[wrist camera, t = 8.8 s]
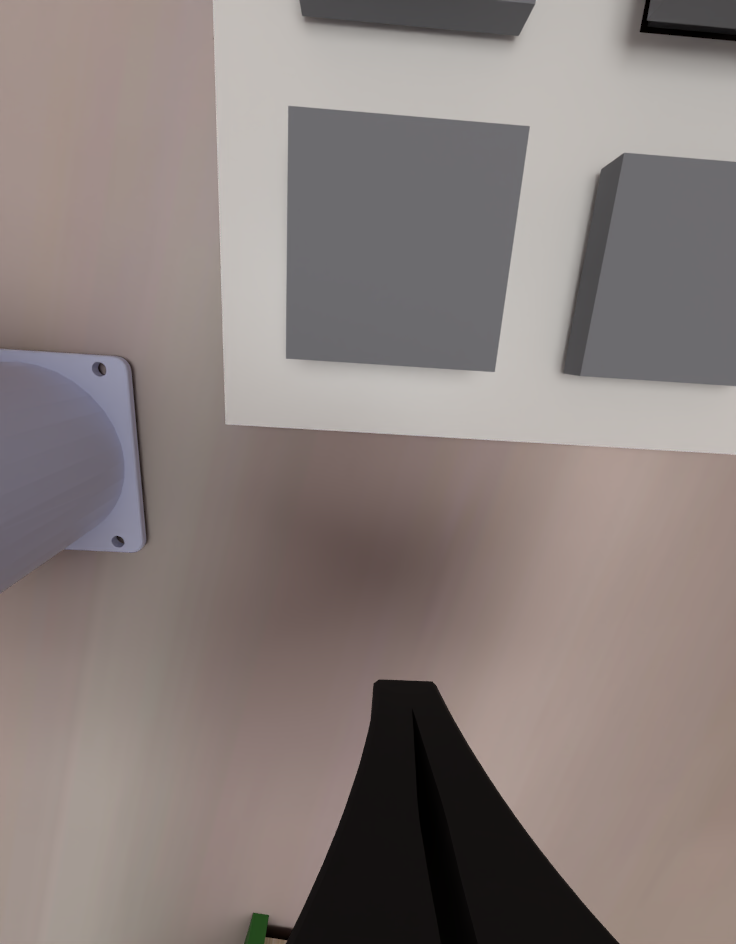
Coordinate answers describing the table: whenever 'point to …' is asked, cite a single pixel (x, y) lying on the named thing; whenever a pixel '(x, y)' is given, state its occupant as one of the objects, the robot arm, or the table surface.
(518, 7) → the button
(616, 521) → the table surface
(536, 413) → the button board
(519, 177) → the button
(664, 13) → the button
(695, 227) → the button
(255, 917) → the hardback book
